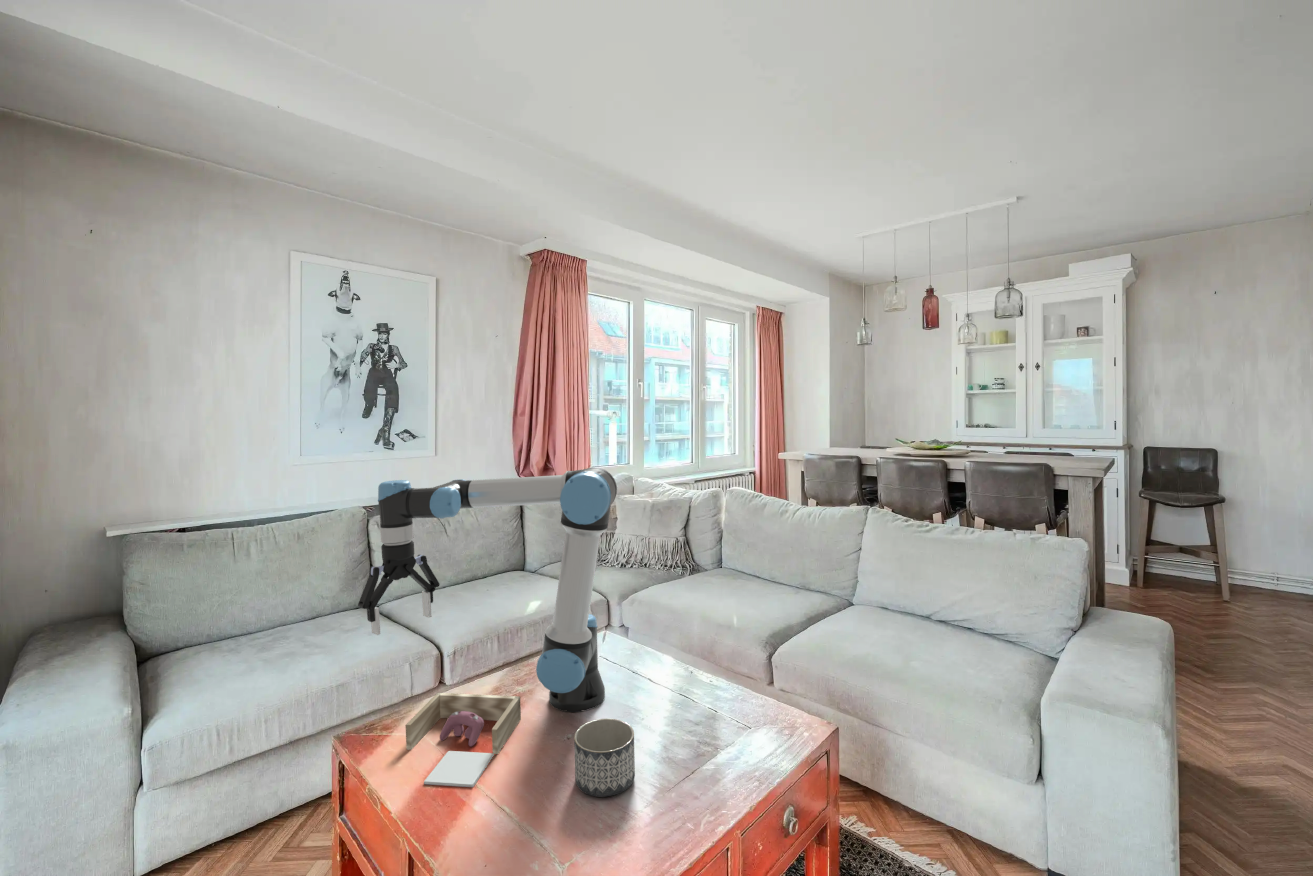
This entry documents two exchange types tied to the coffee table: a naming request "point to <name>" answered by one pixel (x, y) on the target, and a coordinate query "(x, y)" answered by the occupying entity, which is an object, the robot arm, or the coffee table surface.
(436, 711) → the bay
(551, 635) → the robot arm
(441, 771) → the pad
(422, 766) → the coffee table surface
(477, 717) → the video game controller
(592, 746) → the planter
